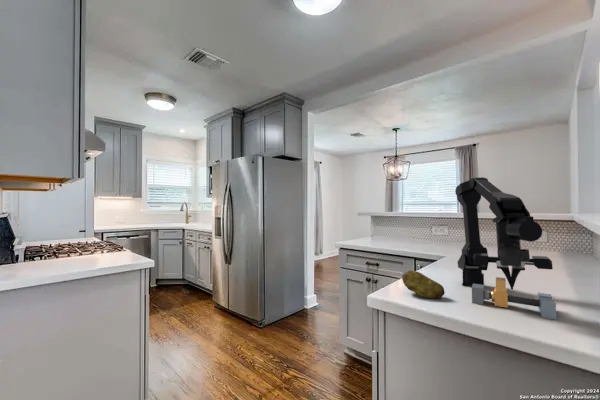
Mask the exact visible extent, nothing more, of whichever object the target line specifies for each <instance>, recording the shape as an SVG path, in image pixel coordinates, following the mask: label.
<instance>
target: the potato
mask: <svg viewBox="0 0 600 400" xmlns="http://www.w3.org/2000/svg"><path fill="white" fill-rule="evenodd" d="M401 278H402V282H403V284H404V286H405V287H406V289H408V290H409V291H411V292H413V293H414V294H416V295H417V296H419V297H422V298H426V299H439V298H441V297H443V296H444V295H445V292H446V291H445V288H444V287H443V285H442V284H440V283H439V282H437V281H435V280H433V279H432V278H430V277H428V276H426V275H425V274H423V273H421V272H419V271H415V270H409V271H406V272H405V273H403V275H402V276H401Z"/></svg>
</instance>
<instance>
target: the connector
mask: <svg viewBox="0 0 600 400" xmlns="http://www.w3.org/2000/svg"><path fill="white" fill-rule="evenodd" d="M489 292H490V290H485V284H484V285H481V284H473V285H472V287H471V303H472V304H475V305H476V304H477V305H481V306H482V305H483V306H484V303H485V300H486V301H490V299H489Z"/></svg>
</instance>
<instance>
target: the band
mask: <svg viewBox="0 0 600 400" xmlns="http://www.w3.org/2000/svg"><path fill="white" fill-rule="evenodd" d="M490 300H491V302H493V303H495V294H494V290H491V299H490Z"/></svg>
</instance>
